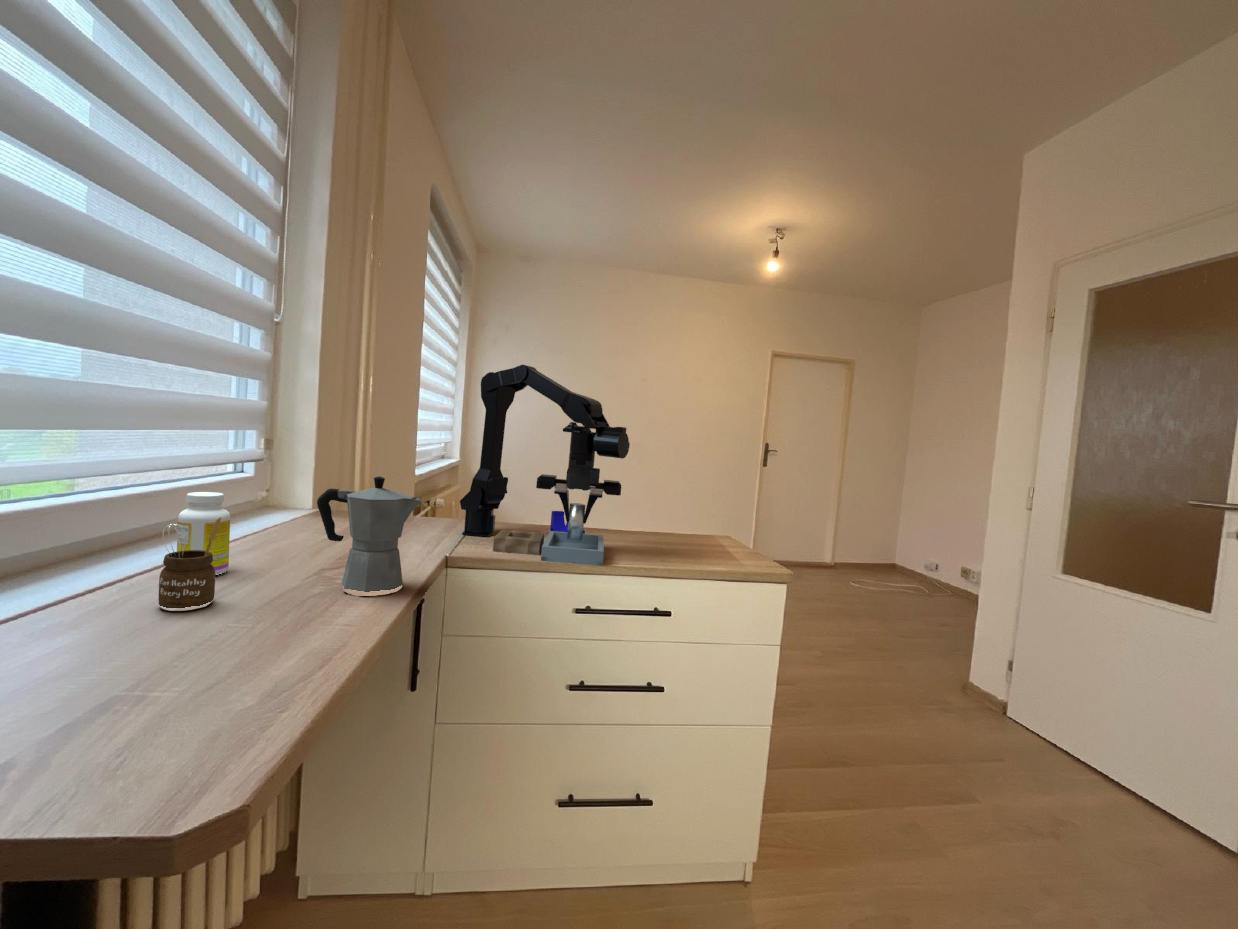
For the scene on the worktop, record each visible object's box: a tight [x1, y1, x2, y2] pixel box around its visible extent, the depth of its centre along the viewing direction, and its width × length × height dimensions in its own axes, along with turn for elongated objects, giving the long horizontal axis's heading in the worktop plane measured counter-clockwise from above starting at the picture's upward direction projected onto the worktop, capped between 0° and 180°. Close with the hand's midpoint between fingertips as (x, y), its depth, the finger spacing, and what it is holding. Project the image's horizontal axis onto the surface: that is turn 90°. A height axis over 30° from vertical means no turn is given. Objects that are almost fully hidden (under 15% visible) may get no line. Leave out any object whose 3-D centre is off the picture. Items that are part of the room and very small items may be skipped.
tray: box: [540, 530, 605, 566], centre depth 124 cm, size 13×18×3 cm
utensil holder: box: [158, 517, 221, 608], centre depth 73 cm, size 6×6×12 cm
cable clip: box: [549, 510, 586, 534], centre depth 143 cm, size 12×4×6 cm, turn 29°
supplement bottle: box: [176, 491, 231, 575], centre depth 87 cm, size 7×7×13 cm
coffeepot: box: [316, 476, 423, 592], centre depth 87 cm, size 15×9×18 cm, turn 101°
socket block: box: [492, 529, 545, 556], centre depth 125 cm, size 10×10×3 cm
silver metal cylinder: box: [567, 502, 586, 541], centre depth 124 cm, size 4×4×8 cm
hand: (576, 522), depth 124 cm, fingers closed on silver metal cylinder, 3 cm apart
